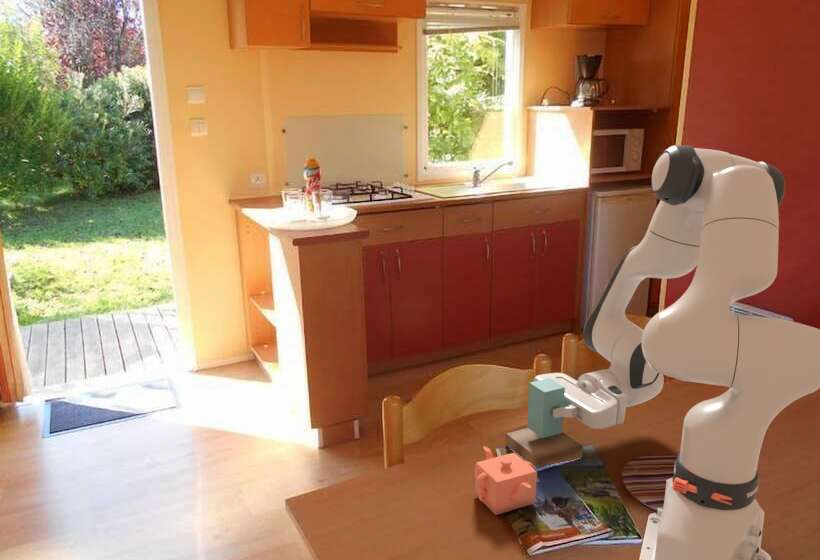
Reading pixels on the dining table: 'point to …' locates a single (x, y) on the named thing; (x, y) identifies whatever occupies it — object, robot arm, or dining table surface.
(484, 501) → the teapot
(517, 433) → the walnut plinth
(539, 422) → the teal pillar
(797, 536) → the dining table surface
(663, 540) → the robot arm
